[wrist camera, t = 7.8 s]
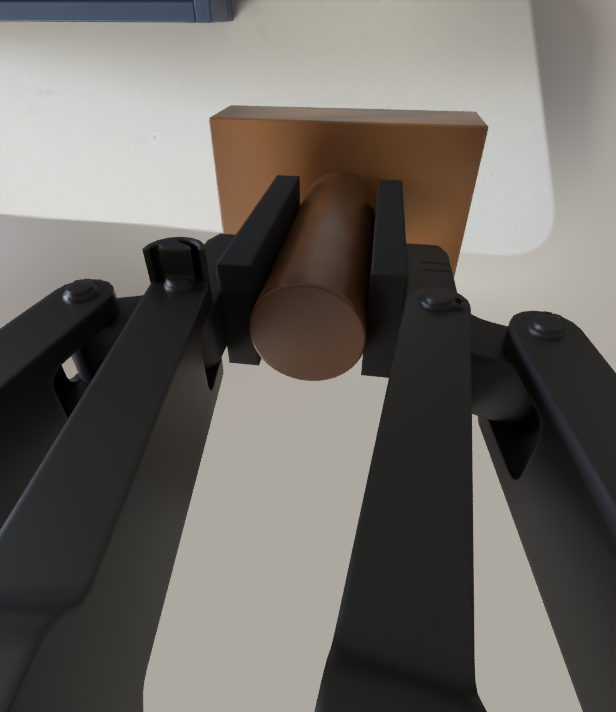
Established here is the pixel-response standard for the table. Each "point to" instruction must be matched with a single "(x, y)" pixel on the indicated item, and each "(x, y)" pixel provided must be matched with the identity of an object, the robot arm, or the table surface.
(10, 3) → the tray
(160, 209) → the table surface
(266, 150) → the stamp
